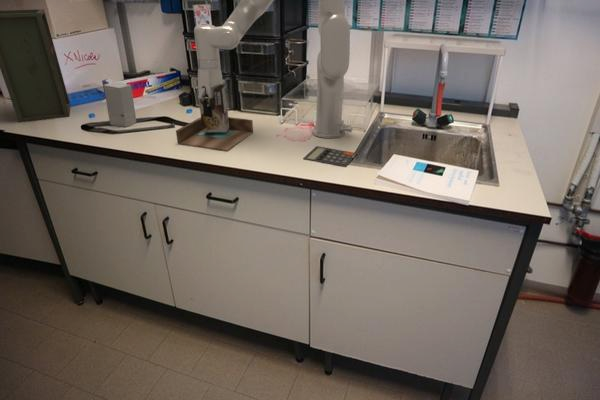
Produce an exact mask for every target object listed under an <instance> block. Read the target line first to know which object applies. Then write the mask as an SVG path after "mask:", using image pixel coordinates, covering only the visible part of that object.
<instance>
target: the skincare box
mask: <svg viewBox="0 0 600 400" xmlns="http://www.w3.org/2000/svg"><path fill="white" fill-rule="evenodd" d="M103 89H104V95H105V101H106V108H107V114H108V121H109V124H110V126H116V127H123V128H128V127H130V126H133V125H136V124H137V117H136V111H135V102H134V95H133V87H132V84H129V83H128V84H127V83H125V82H118V81H114V82H110V83H105V84H103Z"/></svg>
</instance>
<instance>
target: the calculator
mask: <svg viewBox="0 0 600 400" xmlns="http://www.w3.org/2000/svg"><path fill="white" fill-rule="evenodd" d="M355 153H356V152H352V151H347V150H341V149H336V148H330V147H329V148H328V147H325V146H318V145H317V146H314V148H313V149H312V150H311V151H310V152H308V153H307V154H306V155H304V157H303V158H302V159H303V160H304V161H305V160H306V161H310V162H316V163H321V164H326V165H331V166H336V167H341V168H347V167H348V166H349V165H350V163H351V162H352V161H351V159H352V156H353V155H354V154H355Z"/></svg>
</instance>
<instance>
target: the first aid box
mask: <svg viewBox="0 0 600 400" xmlns="http://www.w3.org/2000/svg"><path fill="white" fill-rule="evenodd" d="M0 72H1V75H2V78H3V80H4V83H5V86H6V90H7V91H8V94H9V98H10V101H11V103H12V107H13V110H14V112H15V116H16V118H17V122H18V123H26V122H27V123H28V122H36V121H45V120H53V119H61V118H69V117H70V115H71V114H70V113H71V103H70V99H69V98H70V97H69V95H68V91H67V88H66V84H65V80H64V77H63V74H62V70H61V65H60V63H59V58H58V55H57V52H56V48H55V44H54V41H53V37H52V33H51V29H50V25H49V23H48V19H47V16H46V10H45V8H41V9H40V8H38V9H37V8H36V9H9V10H7V9H6V10H4V9H3V10H0Z"/></svg>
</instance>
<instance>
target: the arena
mask: <svg viewBox="0 0 600 400" xmlns="http://www.w3.org/2000/svg"><path fill="white" fill-rule="evenodd" d="M228 119H229V129H228V131H227V132H203V128H202V121H201V116H200V117H199V118H196V119H195V120H193V121H190V122H189V123H187V124H186V125H183V126H182V127H180V128H178V129H176V130H175V133H176V134H175V135H176V140H177V144H178V145H183V146H189V147H195V148H202V149H209V150H213V151H221V152H229V151H230V150H232V149H233V148H234V147H236V146H237V145H239V144H240V143H241V142H243V141H244V140H245V139H246V138H248V137H249V136H251V135H252V134H253V133H254V124H253V123H254V122H253V119H248V118H238V117H233V116H228Z"/></svg>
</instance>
